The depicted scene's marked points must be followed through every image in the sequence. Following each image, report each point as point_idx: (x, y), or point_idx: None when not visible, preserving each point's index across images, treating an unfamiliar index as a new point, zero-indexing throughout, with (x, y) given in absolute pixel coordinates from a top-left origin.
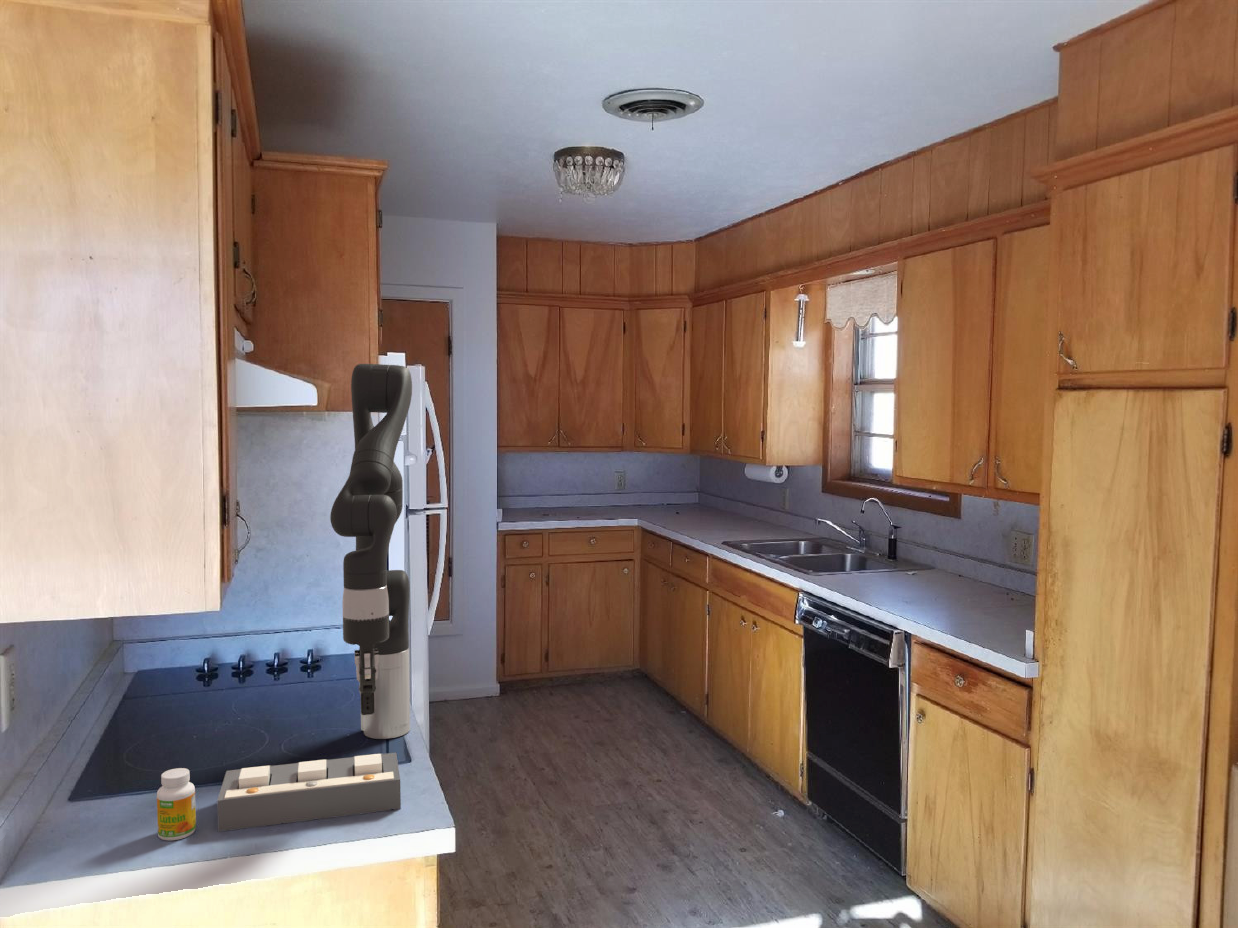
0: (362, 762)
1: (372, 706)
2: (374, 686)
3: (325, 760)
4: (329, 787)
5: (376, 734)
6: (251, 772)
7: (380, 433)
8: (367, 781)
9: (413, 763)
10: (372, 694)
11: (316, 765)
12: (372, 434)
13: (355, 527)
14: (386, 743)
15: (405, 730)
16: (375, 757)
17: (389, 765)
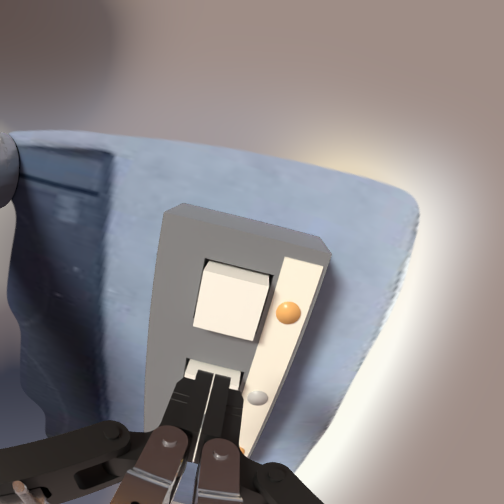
0: (240, 322)
1: (227, 399)
2: (314, 497)
3: (191, 375)
4: (284, 377)
5: (9, 194)
6: (194, 454)
7: None
8: (304, 318)
9: (121, 150)
10: (220, 436)
11: (209, 393)
12: None
13: None
14: (29, 179)
15: (10, 142)
16: (223, 289)
17: (236, 250)
